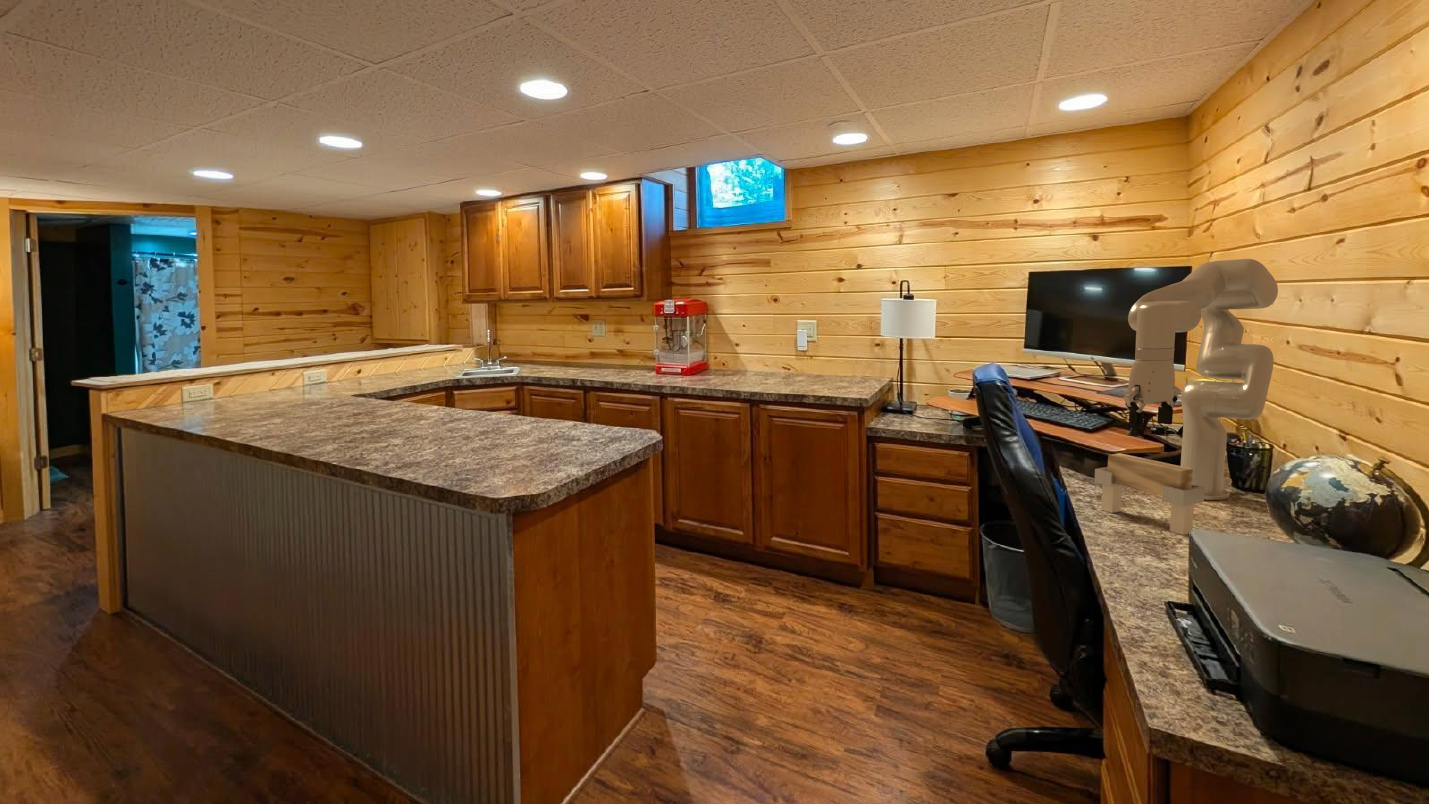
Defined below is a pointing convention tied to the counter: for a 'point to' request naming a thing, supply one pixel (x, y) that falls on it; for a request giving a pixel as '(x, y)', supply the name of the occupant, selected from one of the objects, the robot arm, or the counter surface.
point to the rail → (1148, 474)
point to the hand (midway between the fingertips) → (1150, 425)
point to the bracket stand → (1178, 497)
